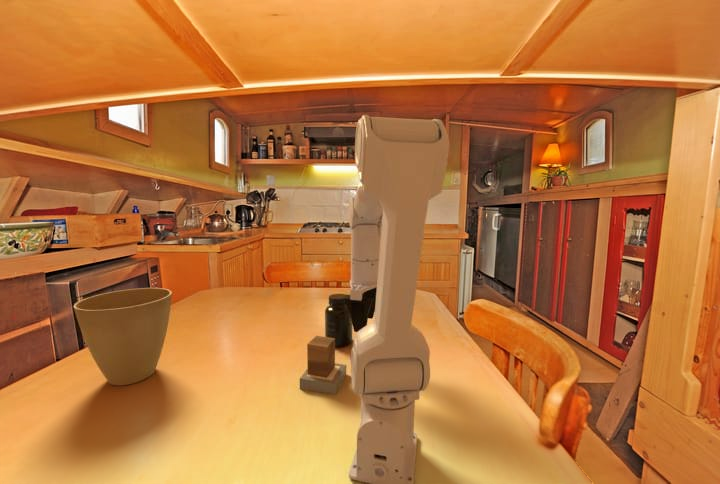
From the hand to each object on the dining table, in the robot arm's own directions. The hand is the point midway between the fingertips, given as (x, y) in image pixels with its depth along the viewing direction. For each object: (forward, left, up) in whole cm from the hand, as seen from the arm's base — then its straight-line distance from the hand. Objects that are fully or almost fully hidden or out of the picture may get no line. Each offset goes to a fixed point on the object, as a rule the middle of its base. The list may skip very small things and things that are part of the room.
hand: (364, 324), depth 62 cm
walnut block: (-6, +7, -8) cm, 12 cm away
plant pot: (-14, +44, -10) cm, 47 cm away
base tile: (-6, +7, -10) cm, 13 cm away
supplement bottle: (+11, +9, -10) cm, 17 cm away
